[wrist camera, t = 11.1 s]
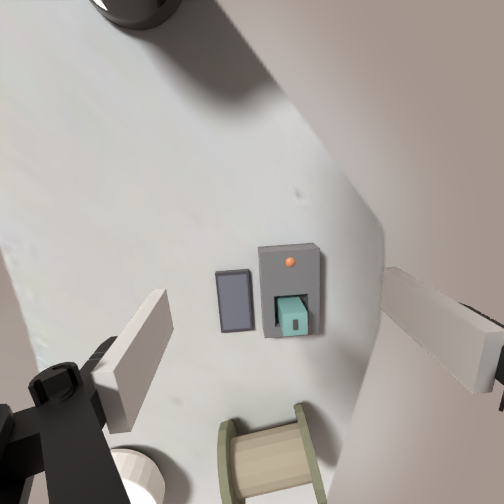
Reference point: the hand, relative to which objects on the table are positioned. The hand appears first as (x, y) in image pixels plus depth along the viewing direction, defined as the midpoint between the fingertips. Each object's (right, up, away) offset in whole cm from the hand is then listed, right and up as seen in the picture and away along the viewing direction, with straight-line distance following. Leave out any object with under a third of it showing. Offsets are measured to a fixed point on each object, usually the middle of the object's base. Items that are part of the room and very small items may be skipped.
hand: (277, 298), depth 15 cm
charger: (+5, -7, +32) cm, 33 cm away
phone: (-5, -6, +33) cm, 34 cm away
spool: (+2, -35, +41) cm, 53 cm away
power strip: (+5, -4, +32) cm, 33 cm away
